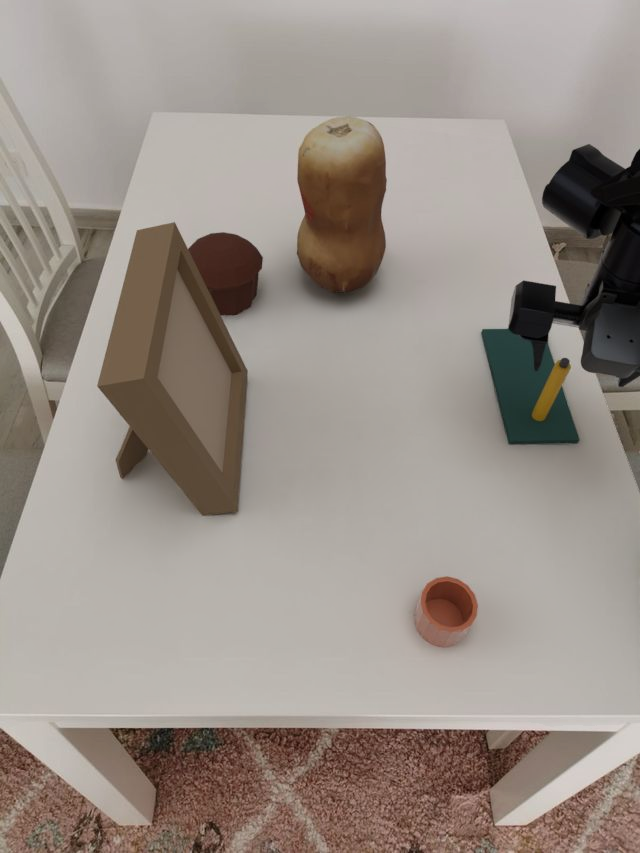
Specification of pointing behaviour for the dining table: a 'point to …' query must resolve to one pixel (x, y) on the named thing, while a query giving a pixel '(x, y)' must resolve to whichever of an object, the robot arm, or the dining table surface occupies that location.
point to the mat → (525, 391)
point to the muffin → (228, 270)
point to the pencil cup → (445, 611)
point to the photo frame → (176, 374)
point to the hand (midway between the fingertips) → (577, 376)
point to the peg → (551, 389)
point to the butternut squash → (342, 203)
